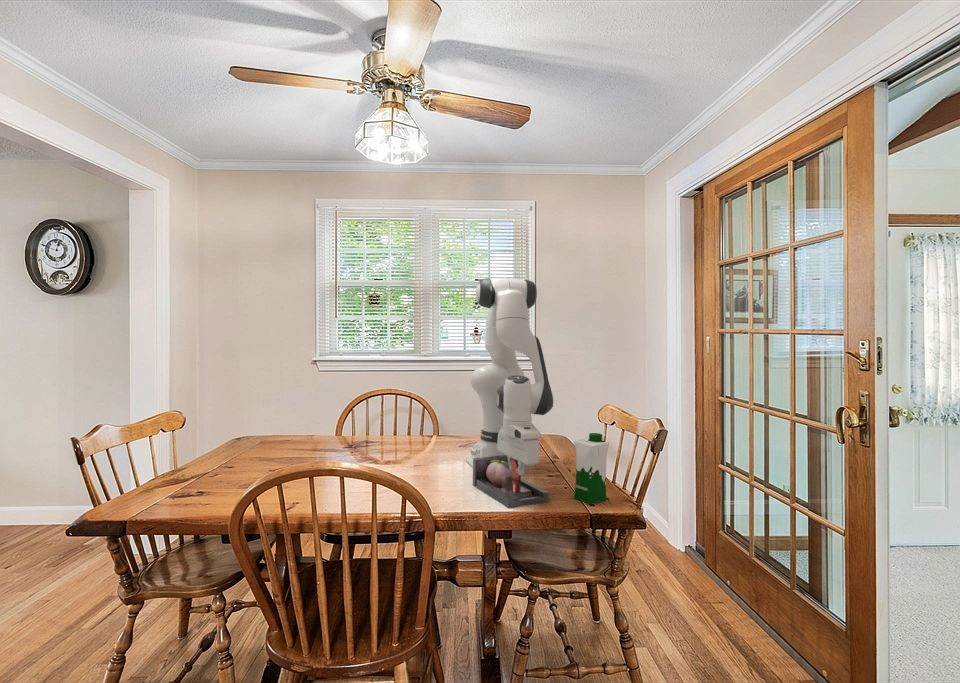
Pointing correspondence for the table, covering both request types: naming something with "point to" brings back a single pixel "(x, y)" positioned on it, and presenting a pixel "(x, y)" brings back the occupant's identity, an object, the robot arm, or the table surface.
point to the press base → (497, 494)
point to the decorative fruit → (497, 472)
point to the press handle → (514, 484)
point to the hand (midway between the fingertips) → (516, 472)
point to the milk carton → (591, 469)
